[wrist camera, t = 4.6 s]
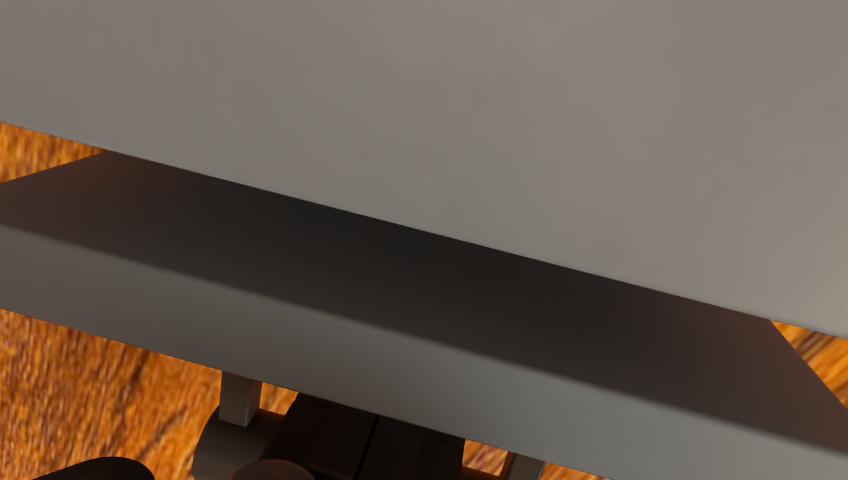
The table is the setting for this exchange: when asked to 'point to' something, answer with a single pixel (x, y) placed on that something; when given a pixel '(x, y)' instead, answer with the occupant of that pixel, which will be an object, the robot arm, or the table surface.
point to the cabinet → (490, 123)
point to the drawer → (409, 330)
